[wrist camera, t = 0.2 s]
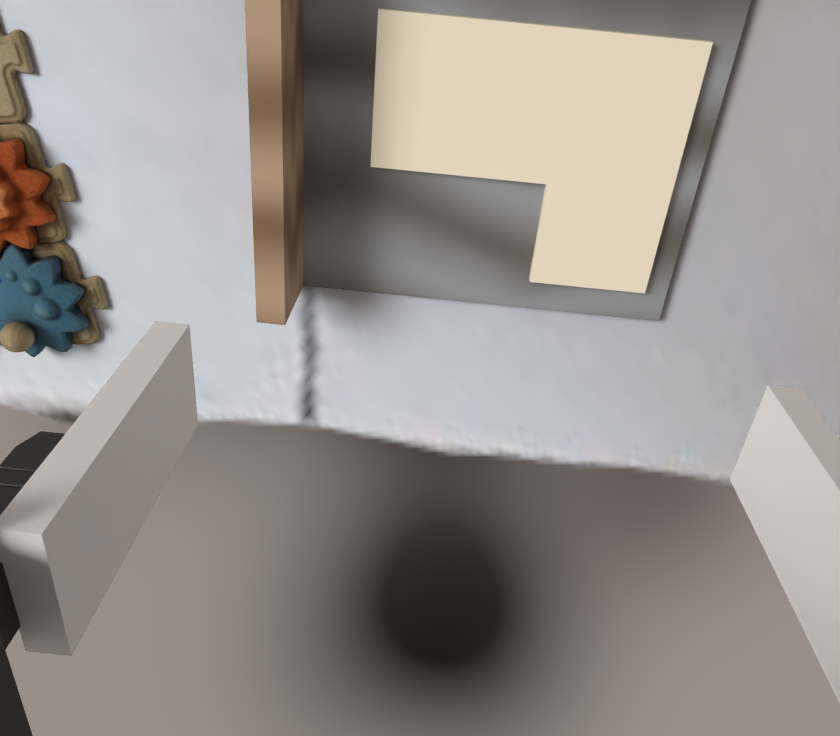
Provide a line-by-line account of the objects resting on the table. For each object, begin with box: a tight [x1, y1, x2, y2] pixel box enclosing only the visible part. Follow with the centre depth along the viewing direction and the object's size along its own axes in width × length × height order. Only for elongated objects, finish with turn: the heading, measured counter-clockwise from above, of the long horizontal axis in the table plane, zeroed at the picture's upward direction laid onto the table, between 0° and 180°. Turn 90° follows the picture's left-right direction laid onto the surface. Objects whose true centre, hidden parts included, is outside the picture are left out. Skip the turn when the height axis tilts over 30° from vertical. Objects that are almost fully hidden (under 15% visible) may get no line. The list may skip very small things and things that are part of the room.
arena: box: [245, 0, 751, 325], centre depth 37 cm, size 24×24×6 cm
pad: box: [370, 8, 713, 293], centre depth 40 cm, size 14×17×1 cm
